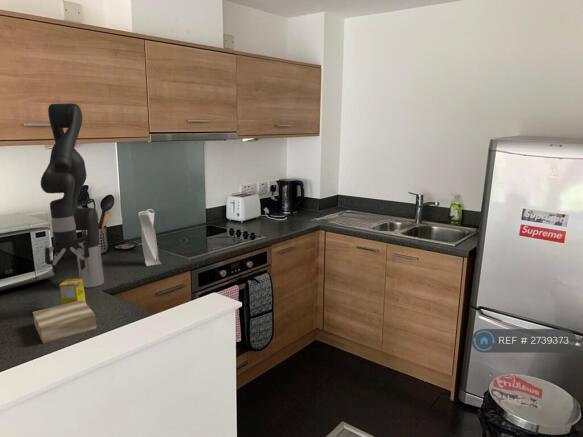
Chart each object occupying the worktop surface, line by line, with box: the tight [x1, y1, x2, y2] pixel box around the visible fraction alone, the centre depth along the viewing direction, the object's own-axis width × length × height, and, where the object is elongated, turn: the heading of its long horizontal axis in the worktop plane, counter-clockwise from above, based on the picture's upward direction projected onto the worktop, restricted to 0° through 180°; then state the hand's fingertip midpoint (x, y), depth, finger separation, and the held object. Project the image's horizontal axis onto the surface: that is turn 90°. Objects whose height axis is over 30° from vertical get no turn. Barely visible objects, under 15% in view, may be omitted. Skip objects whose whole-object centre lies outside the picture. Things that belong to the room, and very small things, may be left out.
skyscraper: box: [138, 208, 162, 267], centre depth 210 cm, size 8×8×28 cm
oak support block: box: [32, 300, 98, 344], centre depth 148 cm, size 16×16×5 cm
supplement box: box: [59, 278, 87, 305], centre depth 161 cm, size 6×6×11 cm
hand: (69, 271), depth 159 cm, fingers open, 8 cm apart
